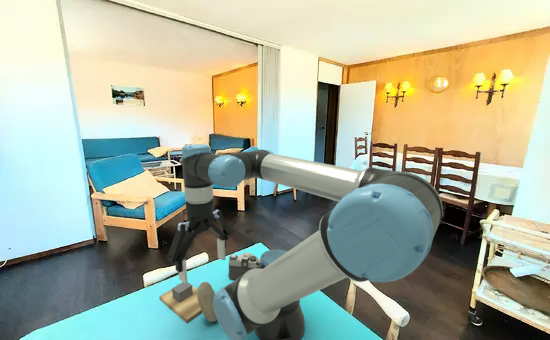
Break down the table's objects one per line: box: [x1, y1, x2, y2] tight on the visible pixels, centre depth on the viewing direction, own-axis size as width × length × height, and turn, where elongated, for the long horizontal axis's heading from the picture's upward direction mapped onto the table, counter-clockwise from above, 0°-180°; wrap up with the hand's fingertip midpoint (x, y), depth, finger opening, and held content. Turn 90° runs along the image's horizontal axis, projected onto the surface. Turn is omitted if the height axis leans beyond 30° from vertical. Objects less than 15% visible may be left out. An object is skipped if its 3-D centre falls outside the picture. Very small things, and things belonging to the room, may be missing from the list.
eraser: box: [171, 281, 193, 303], centre depth 81 cm, size 4×5×4 cm
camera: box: [228, 251, 261, 281], centre depth 95 cm, size 16×10×10 cm, turn 81°
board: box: [159, 285, 203, 324], centre depth 81 cm, size 16×10×1 cm, turn 53°
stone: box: [197, 281, 218, 323], centre depth 73 cm, size 6×6×12 cm
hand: (204, 269), depth 71 cm, fingers open, 13 cm apart
